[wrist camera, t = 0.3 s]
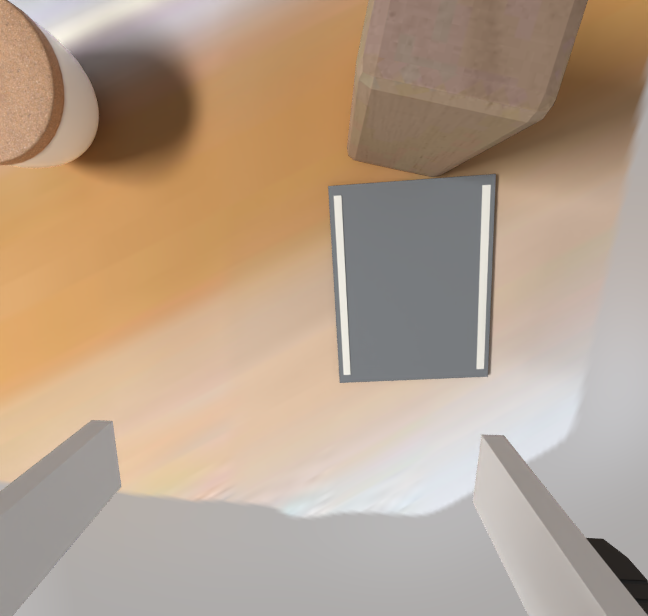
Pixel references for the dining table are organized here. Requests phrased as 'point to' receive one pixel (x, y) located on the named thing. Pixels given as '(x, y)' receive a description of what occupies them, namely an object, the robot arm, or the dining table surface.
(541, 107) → the wooden block
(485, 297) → the mat
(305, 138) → the dining table surface
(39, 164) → the lidded bowl
